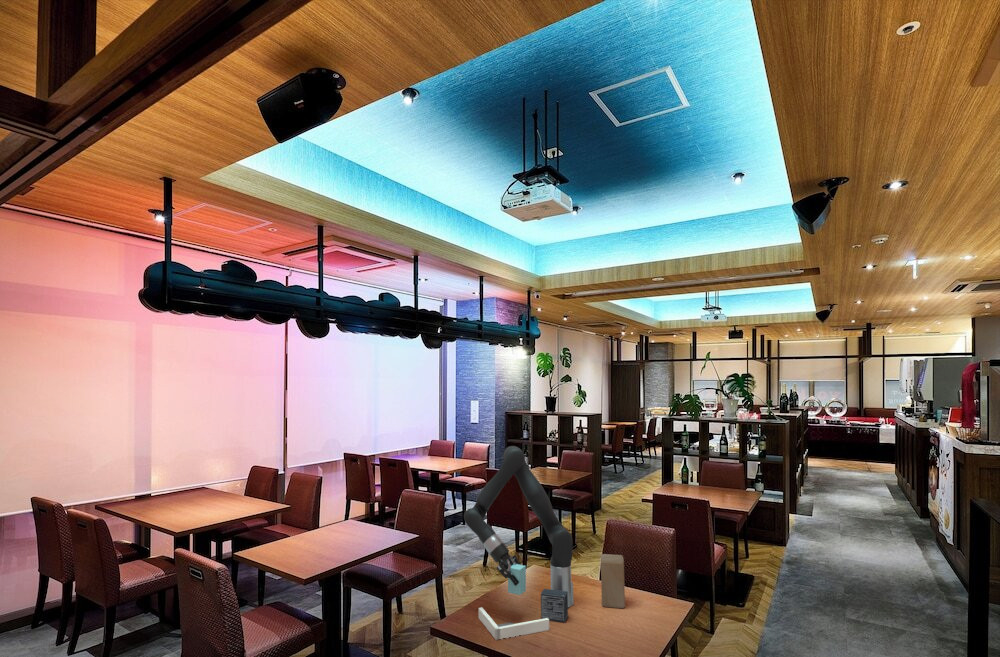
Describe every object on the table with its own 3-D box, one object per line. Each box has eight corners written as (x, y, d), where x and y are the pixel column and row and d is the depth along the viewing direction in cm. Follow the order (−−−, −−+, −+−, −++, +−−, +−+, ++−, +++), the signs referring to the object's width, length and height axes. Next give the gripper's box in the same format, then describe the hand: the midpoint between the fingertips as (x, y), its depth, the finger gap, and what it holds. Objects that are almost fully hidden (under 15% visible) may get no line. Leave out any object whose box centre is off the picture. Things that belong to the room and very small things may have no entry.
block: (625, 609, 231) (623, 561, 233) (601, 607, 233) (600, 560, 235) (624, 600, 241) (623, 554, 243) (602, 598, 243) (601, 553, 245)
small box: (568, 616, 224) (568, 590, 225) (565, 623, 218) (565, 596, 219) (544, 613, 228) (544, 587, 229) (540, 619, 222) (540, 593, 223)
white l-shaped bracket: (527, 609, 232) (527, 599, 232) (549, 630, 212) (549, 619, 213) (478, 617, 223) (478, 608, 224) (496, 640, 204) (496, 629, 204)
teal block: (514, 588, 225) (514, 563, 226) (525, 590, 223) (525, 565, 224) (508, 592, 221) (508, 567, 222) (519, 595, 218) (519, 569, 219)
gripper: (493, 546, 221) (518, 582, 214) (509, 538, 234) (534, 571, 226) (482, 558, 223) (507, 593, 216) (498, 548, 236) (523, 581, 229)
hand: (520, 581), depth 221 cm, fingers closed on teal block, 5 cm apart
